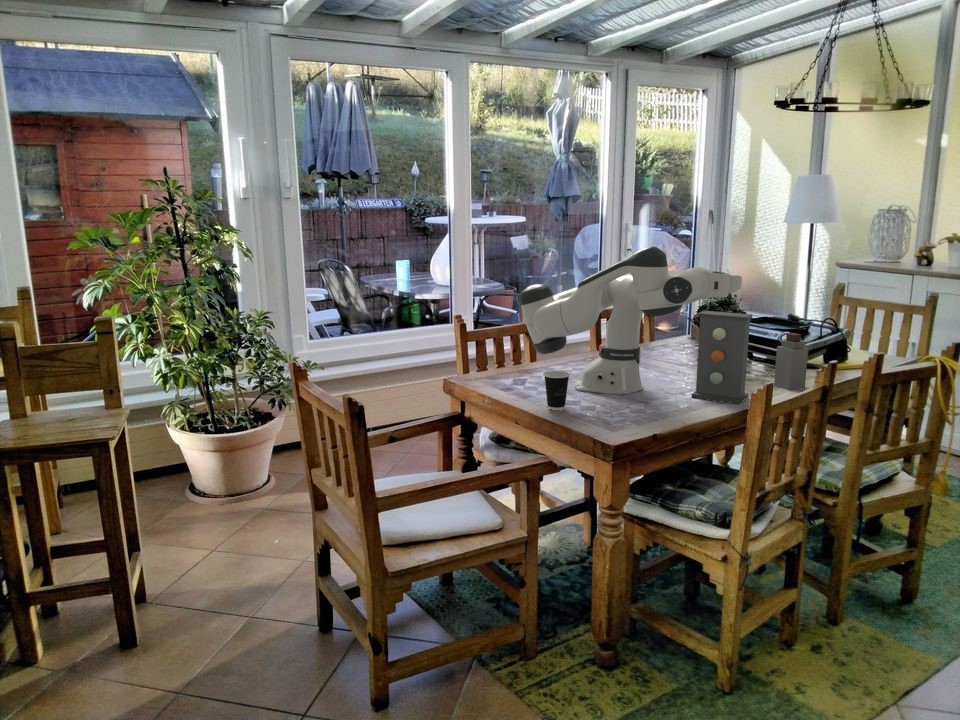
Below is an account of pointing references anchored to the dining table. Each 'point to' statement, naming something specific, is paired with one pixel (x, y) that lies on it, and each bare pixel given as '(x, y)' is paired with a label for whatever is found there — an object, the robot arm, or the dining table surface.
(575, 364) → the dining table surface
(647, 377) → the dining table surface
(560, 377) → the dixie cup
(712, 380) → the button bottom
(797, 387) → the perfume bottle
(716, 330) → the button top
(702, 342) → the button column
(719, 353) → the button middle
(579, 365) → the dining table surface
